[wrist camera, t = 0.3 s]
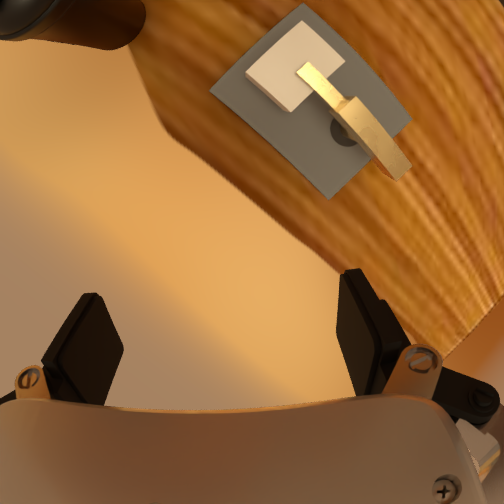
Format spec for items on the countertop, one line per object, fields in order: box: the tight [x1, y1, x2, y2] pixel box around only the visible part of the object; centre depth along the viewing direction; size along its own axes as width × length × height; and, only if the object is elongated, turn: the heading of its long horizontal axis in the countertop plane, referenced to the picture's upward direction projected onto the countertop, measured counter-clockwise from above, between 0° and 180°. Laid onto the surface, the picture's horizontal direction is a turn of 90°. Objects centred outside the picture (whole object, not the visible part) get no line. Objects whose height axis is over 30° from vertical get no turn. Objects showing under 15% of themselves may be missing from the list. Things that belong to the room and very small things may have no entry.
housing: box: [209, 3, 412, 200], centre depth 33 cm, size 16×20×2 cm
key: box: [296, 62, 412, 182], centre depth 29 cm, size 2×14×9 cm, turn 47°
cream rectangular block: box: [245, 21, 345, 112], centre depth 28 cm, size 8×6×6 cm
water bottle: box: [0, 0, 146, 50], centre depth 18 cm, size 10×10×23 cm
